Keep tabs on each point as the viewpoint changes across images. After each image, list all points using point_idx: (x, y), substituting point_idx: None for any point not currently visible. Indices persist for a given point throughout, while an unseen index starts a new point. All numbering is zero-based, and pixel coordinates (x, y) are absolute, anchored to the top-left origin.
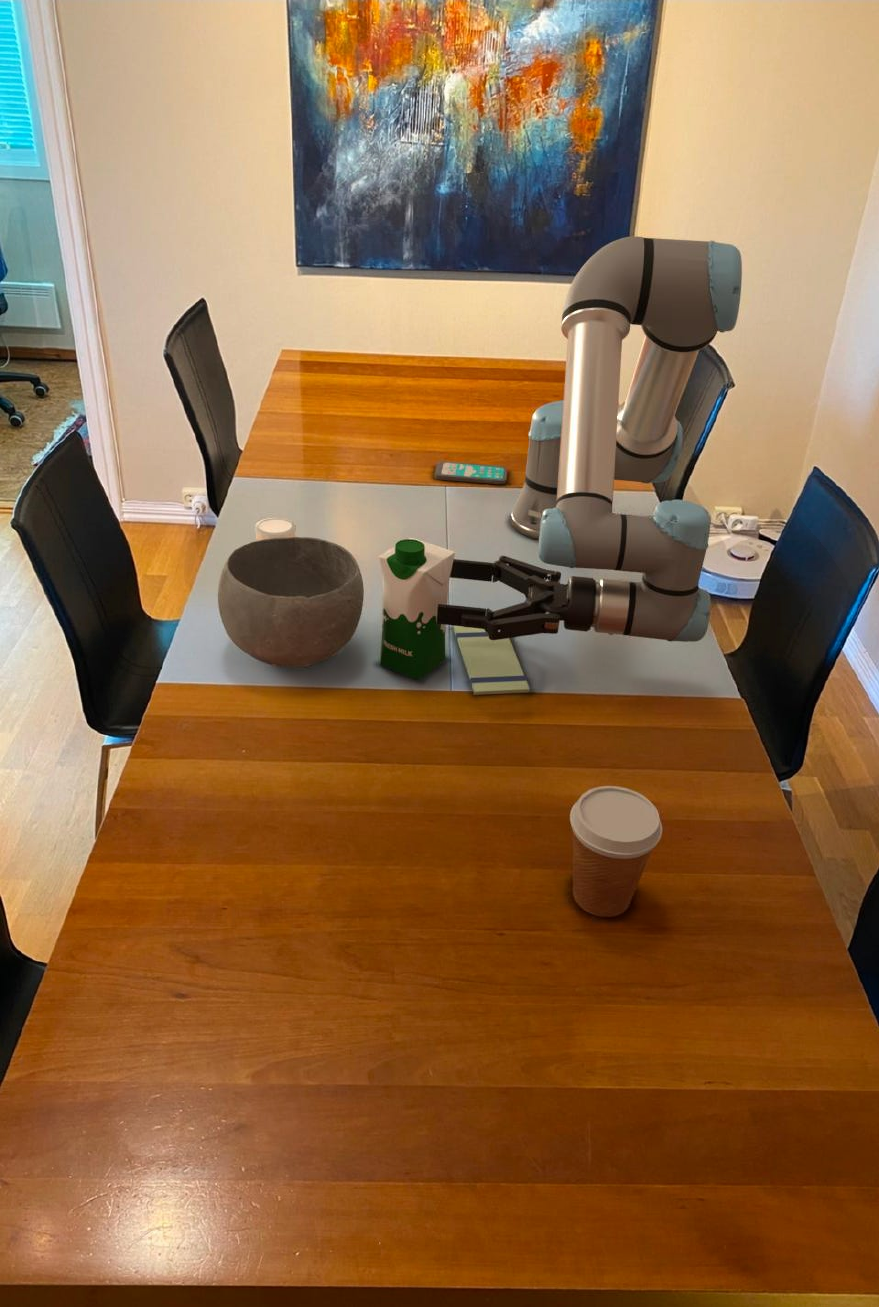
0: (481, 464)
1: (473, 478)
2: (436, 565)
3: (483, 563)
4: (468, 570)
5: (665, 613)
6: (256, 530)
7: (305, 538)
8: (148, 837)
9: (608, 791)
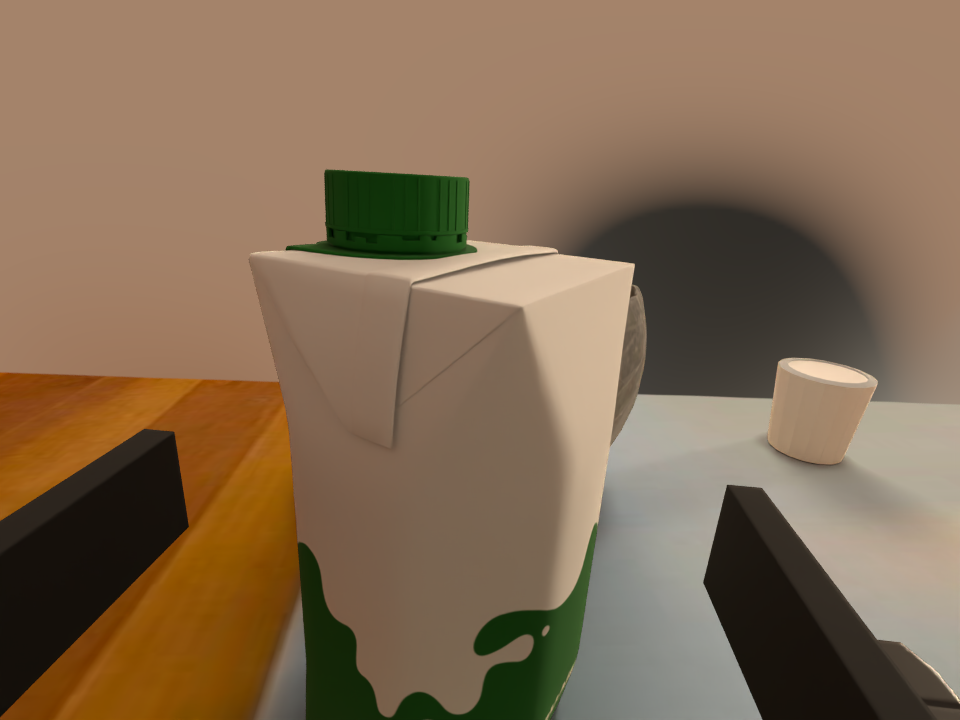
0: None
1: None
2: (322, 272)
3: (890, 702)
4: (775, 640)
5: None
6: (783, 359)
7: (632, 286)
8: (16, 392)
9: None
